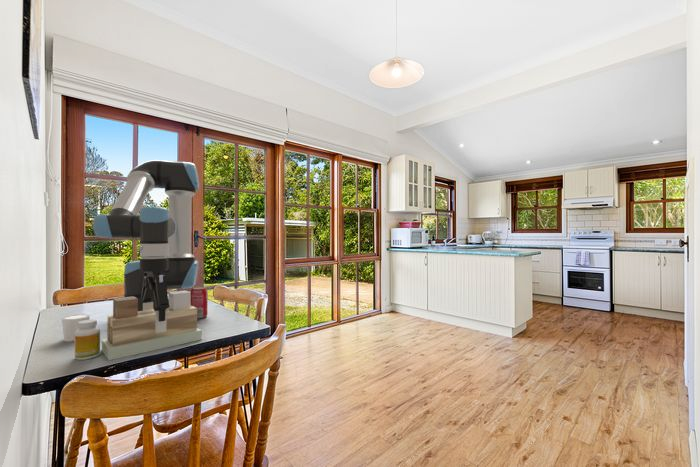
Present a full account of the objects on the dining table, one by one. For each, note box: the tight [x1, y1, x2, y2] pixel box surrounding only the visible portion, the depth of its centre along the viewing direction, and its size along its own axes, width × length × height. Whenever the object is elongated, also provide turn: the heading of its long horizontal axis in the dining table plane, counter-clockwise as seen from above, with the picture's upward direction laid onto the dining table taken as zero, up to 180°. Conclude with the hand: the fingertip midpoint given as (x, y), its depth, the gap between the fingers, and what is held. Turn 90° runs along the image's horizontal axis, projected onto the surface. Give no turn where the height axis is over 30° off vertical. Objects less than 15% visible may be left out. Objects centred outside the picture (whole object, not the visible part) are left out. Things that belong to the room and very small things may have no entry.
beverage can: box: [190, 286, 209, 320], centre depth 130 cm, size 6×6×12 cm
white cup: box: [61, 314, 91, 342], centre depth 104 cm, size 7×7×7 cm
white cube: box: [167, 289, 191, 310], centre depth 103 cm, size 5×5×5 cm
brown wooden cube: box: [112, 296, 138, 319], centre depth 93 cm, size 5×5×5 cm
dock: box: [101, 327, 203, 361], centre depth 98 cm, size 11×24×3 cm, turn 136°
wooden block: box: [106, 306, 198, 347], centre depth 98 cm, size 8×22×7 cm, turn 136°
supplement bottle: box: [74, 319, 101, 361], centre depth 88 cm, size 5×5×10 cm
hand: (154, 327), depth 98 cm, fingers open, 13 cm apart
